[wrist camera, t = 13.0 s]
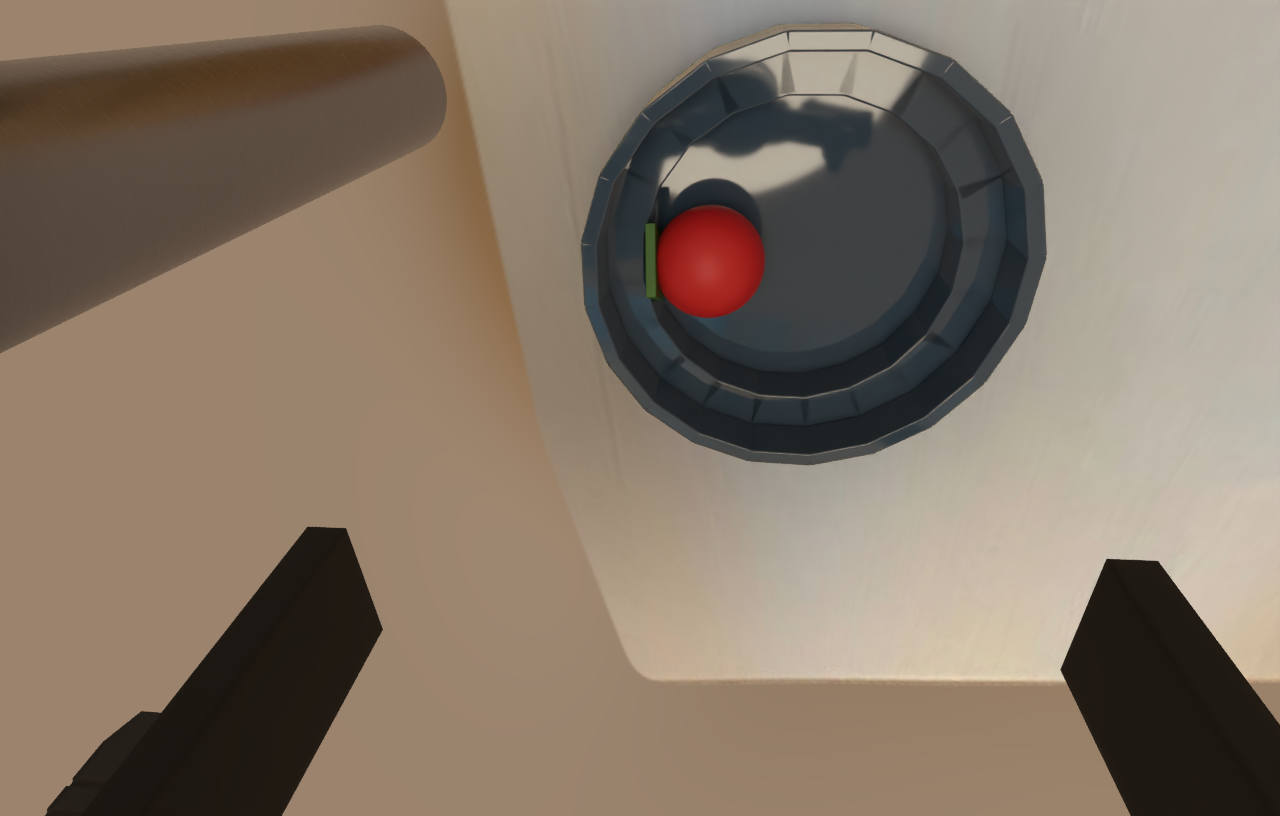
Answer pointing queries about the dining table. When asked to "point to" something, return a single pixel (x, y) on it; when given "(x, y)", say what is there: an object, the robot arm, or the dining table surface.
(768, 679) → the dining table surface
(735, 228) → the strawberry
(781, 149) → the bowl
